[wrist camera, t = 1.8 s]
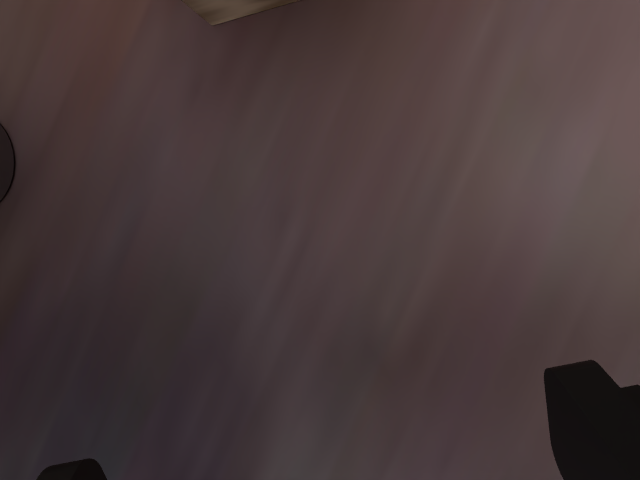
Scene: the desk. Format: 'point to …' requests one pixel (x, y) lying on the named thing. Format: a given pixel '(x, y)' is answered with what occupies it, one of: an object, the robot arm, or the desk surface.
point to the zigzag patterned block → (231, 8)
